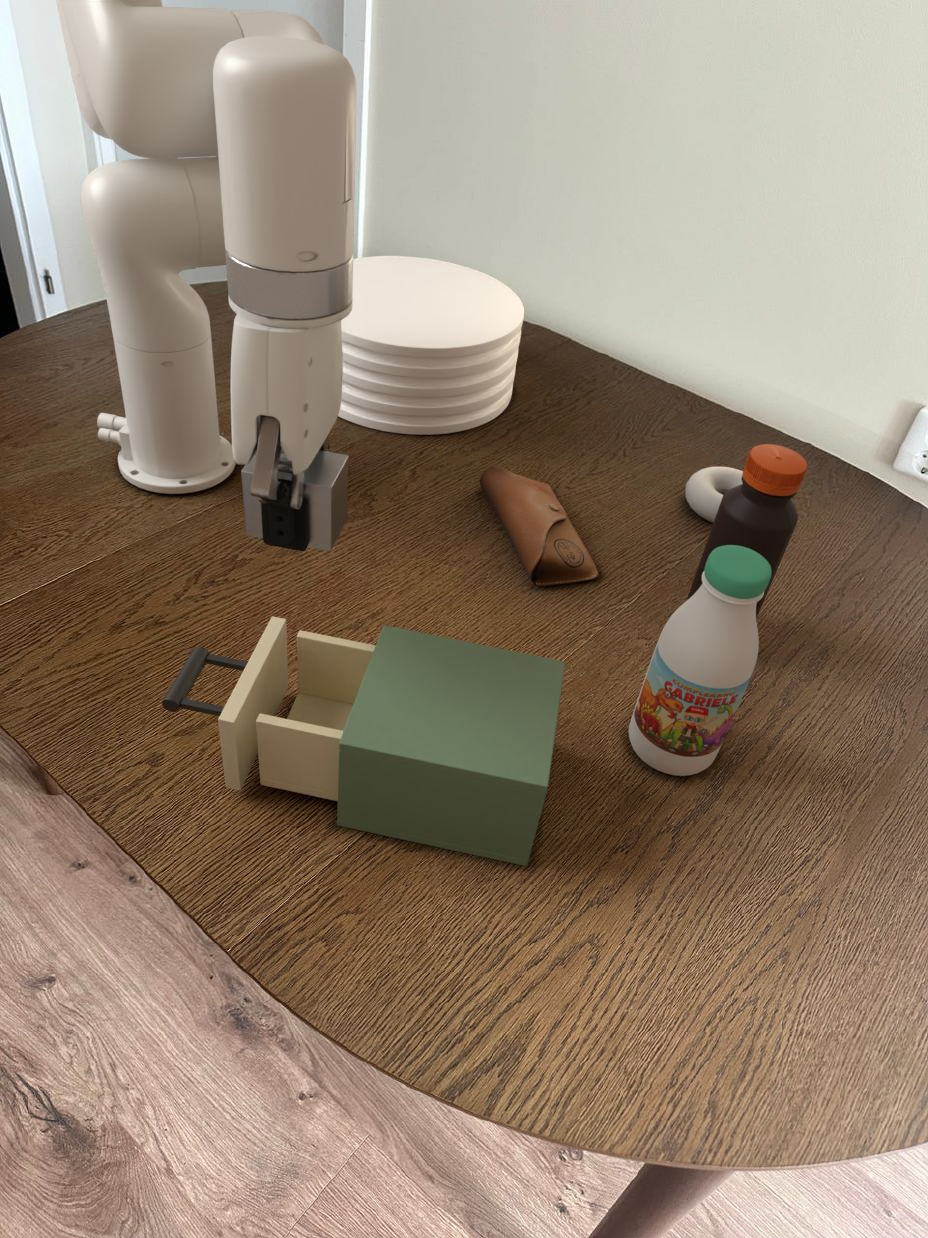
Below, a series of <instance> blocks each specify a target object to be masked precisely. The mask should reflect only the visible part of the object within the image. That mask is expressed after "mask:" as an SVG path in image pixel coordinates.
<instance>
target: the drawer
mask: <svg viewBox="0 0 928 1238" xmlns="http://www.w3.org/2000/svg"><path fill="white" fill-rule="evenodd" d="M375 646H376V644H370V643H365V642H361V641H355V640H352V639H351V640H350V639H346V638H341V637H336V636H332V635H331V636H330V635H326V634H321V633H316V632H311V631H307V630H302V629H300V630H299V631H298V633H297V635H296V659H297V661H296V662H297V663H296V664H297V694H296V697H295V699H294V701H293V704H292V705H291V708H290V710H289V713H288V715H287V717H286V718H283V717H279V716H276V715H277V713H278V711H279V709H280V706H281V704H282V702H283V700H284V697H285V696H286V694H287V691H288V689H289V685H290V684H289V660H288V659H289V657H288V627H287V619H286V618H282V617H278V616H273V615H272V616H271V617H270V619H269V621H268V623H267V625H266V627H265V628H264V631H263V632H262V635H261V636H260V638H259V641H258V643H256V646H255V647H254V649H253V652H252V654H251V656H250V657H249V660H248V661H246V660H241V659H237V658H232V657H227V656H222V655H217V654H211V653H210V652H209V650H208V649H206V648H205V647H203V646H196V647H193V649H192V650H191V652H190V654H189V655H188V657H187V659H186V661H185V662H184V664H183V666H182V667H181V669H180V670H179V672H178V674H177V676H176V677H175V679H174V680H173V682H172V684H171V686H170V687H169V689H168V691H167V693H166V694H165V695H164V697H163V699H162V701H161V705H162V707H163V708H164V709H165V710H166V711H168V712H171V713H176V712H179V711H180V709H183V710H187V711H192V712H196V713H201V714H205V715H210V716H211V715H212V716H216V717H218V719H217V720H218V731H219V739H220V740H219V741H220V749H221V757H222V767H223V775H224V783H225V788H227V789H231V790H235V791H242V788H243V786H244V785H245V782H246V780H247V779H248V776H249V775H250V774H249V773H250V771H251V770H252V767H253V765H254V763H255V761H256V759H257V758H258V766H259V767H258V769H259V770H258V771H259V782H260V785H261V786H264V787H270V788H274V789H278V790H279V789H280V790H283V791H287V792H288V791H289V792H293V793H297V794H303V795H308V796H311V797H315V798H316V797H317V798H321V799H325V800H330V801H335V802H338V765H339V742H340V739H341V736H342V734H343V731H344V728H345V726H346V723H347V720H348V718H349V715H350V713H351V710H352V707H353V705H354V702H355V699H356V697H357V694H358V691H359V689H360V686H361V683H362V681H363V678H364V675H365V673H366V670H367V667H368V665H369V662H370V659H371V657H372V654H373V651H374V649H375ZM206 664H207V665H212V666H217V667H222V668H227V669H232V670H237V671H242V673H241V674H240V677H239V679H238V680H237V683H236V684H235V686H234V688H233V690H232V691H231V694H230V695H229V698H228V700H227V701H226V704H225V705H224V706H223V705H218V704H214V703H210V702H209V703H208V702H205V701H199V700H195V699H190V698H188V696H189V694H190V692H191V690H192V689H193V687H194V685H195V683H196V682H197V680H198V678H199V676H200V675H201V673H202V672H203V669H204V668H205V666H206Z"/></svg>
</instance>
